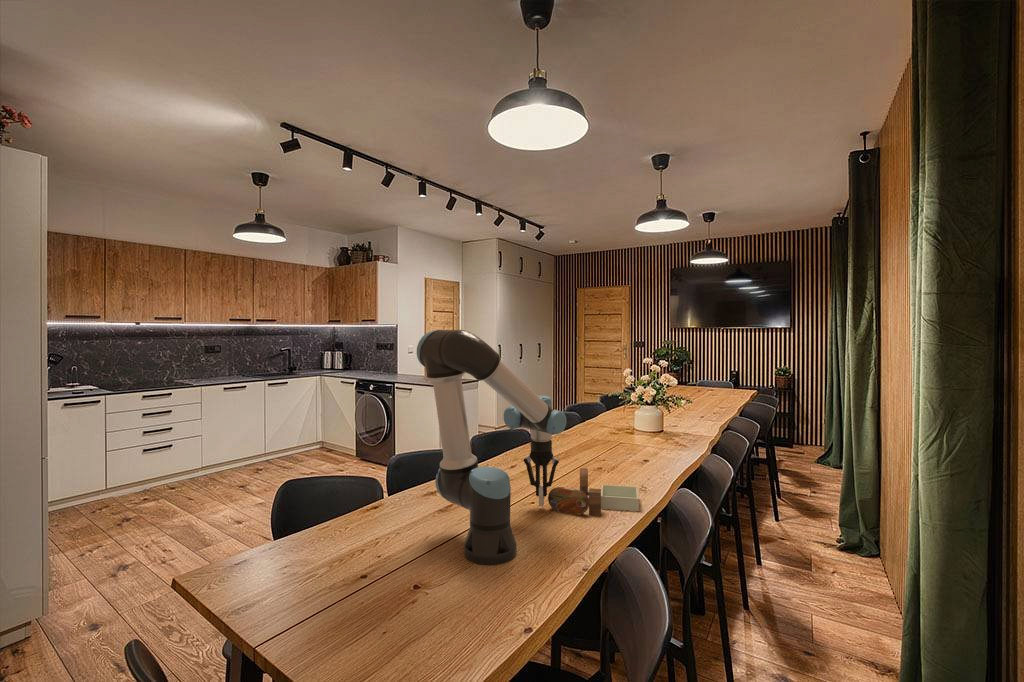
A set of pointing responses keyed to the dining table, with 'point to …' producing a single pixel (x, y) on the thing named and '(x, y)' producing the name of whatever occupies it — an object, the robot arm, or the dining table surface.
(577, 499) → the tin
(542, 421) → the robot arm
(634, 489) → the tray
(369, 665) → the dining table surface
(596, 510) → the wooden block
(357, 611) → the dining table surface
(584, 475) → the dowel
